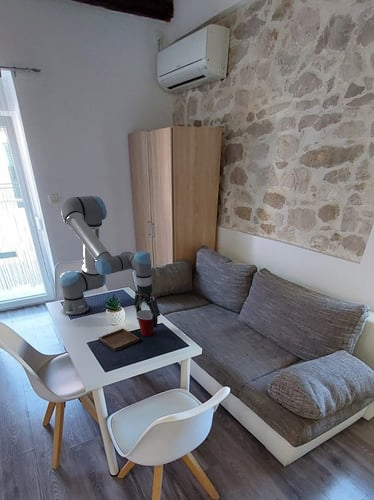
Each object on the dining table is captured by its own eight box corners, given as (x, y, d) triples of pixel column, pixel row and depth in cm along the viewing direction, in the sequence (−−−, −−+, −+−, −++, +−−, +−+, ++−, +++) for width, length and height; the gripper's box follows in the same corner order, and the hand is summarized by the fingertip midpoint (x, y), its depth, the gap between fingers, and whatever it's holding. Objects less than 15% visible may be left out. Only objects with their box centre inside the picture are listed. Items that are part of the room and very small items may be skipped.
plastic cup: (154, 339, 165) (153, 319, 158) (134, 337, 167) (133, 317, 160) (159, 330, 174) (159, 310, 167) (141, 328, 176) (139, 308, 169)
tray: (99, 340, 164) (98, 337, 163) (123, 330, 173) (123, 328, 172) (115, 351, 155) (114, 348, 154) (139, 341, 164) (139, 338, 163)
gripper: (166, 289, 150) (167, 328, 161) (135, 276, 165) (138, 313, 176) (154, 292, 145) (156, 333, 157) (123, 280, 160) (127, 317, 172)
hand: (147, 323), depth 166 cm, fingers open, 13 cm apart
